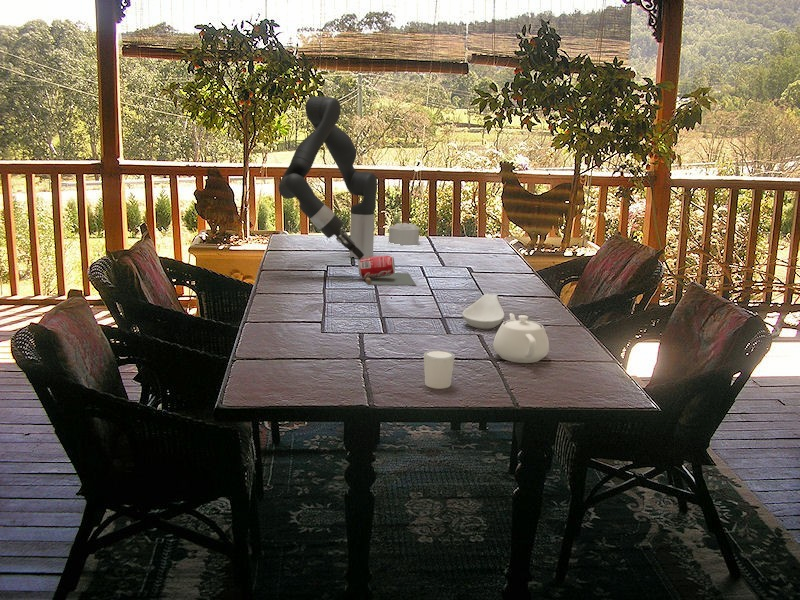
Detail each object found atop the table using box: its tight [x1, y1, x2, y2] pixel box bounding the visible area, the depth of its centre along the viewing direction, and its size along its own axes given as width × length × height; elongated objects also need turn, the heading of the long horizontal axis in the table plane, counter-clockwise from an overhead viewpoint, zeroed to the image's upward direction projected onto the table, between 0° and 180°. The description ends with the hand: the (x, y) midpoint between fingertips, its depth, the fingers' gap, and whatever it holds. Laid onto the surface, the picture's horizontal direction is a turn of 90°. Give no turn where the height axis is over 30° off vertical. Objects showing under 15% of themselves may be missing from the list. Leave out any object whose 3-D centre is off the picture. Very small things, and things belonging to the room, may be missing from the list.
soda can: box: [357, 255, 396, 279], centre depth 299 cm, size 7×7×12 cm
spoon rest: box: [461, 292, 505, 330], centre depth 249 cm, size 24×12×7 cm, turn 166°
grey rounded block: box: [388, 222, 420, 246], centre depth 378 cm, size 10×13×9 cm
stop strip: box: [364, 277, 372, 286], centre depth 301 cm, size 18×1×2 cm, turn 7°
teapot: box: [492, 312, 550, 364], centre depth 214 cm, size 22×14×11 cm, turn 7°
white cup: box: [423, 349, 456, 390], centre depth 192 cm, size 7×7×7 cm
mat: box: [370, 272, 417, 287], centre depth 302 cm, size 20×15×1 cm
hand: (361, 256), depth 299 cm, fingers closed
